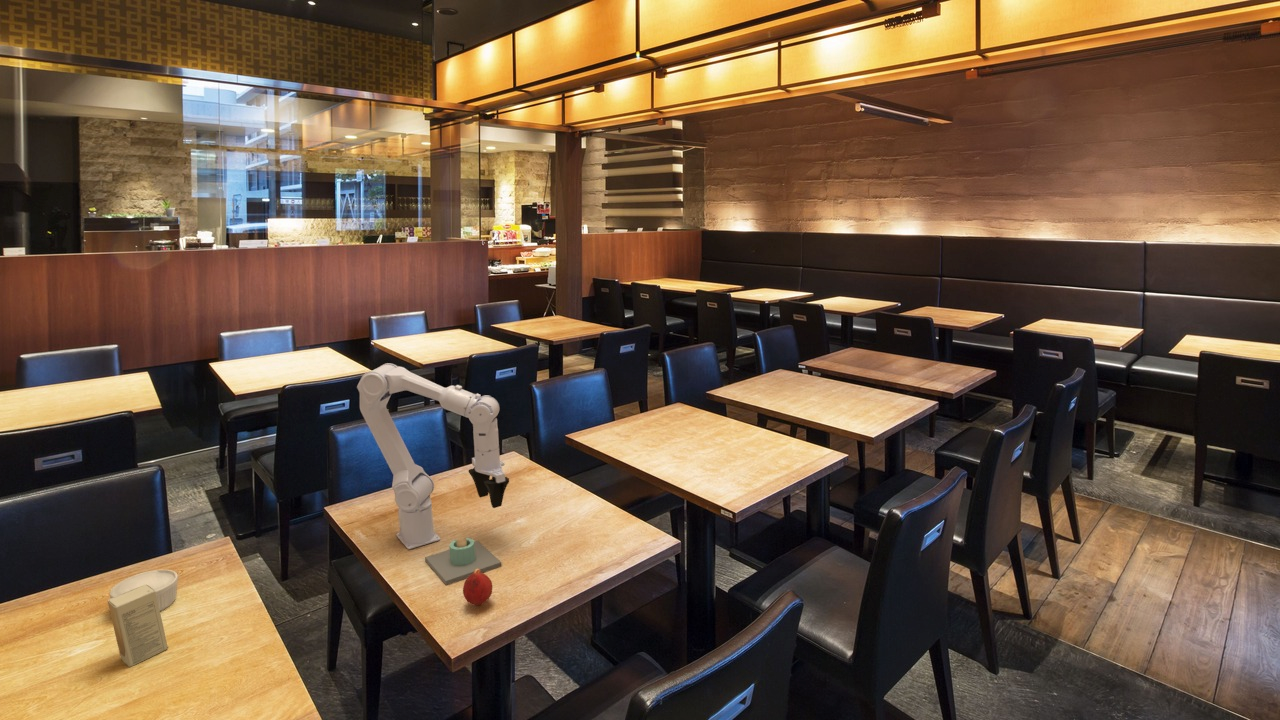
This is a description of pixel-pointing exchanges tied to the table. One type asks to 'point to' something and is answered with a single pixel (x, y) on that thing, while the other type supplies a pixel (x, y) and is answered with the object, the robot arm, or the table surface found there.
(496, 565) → the grey board
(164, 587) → the ramekin
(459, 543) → the beech post
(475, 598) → the onion
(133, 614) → the skincare box
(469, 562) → the green ring
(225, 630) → the table surface
